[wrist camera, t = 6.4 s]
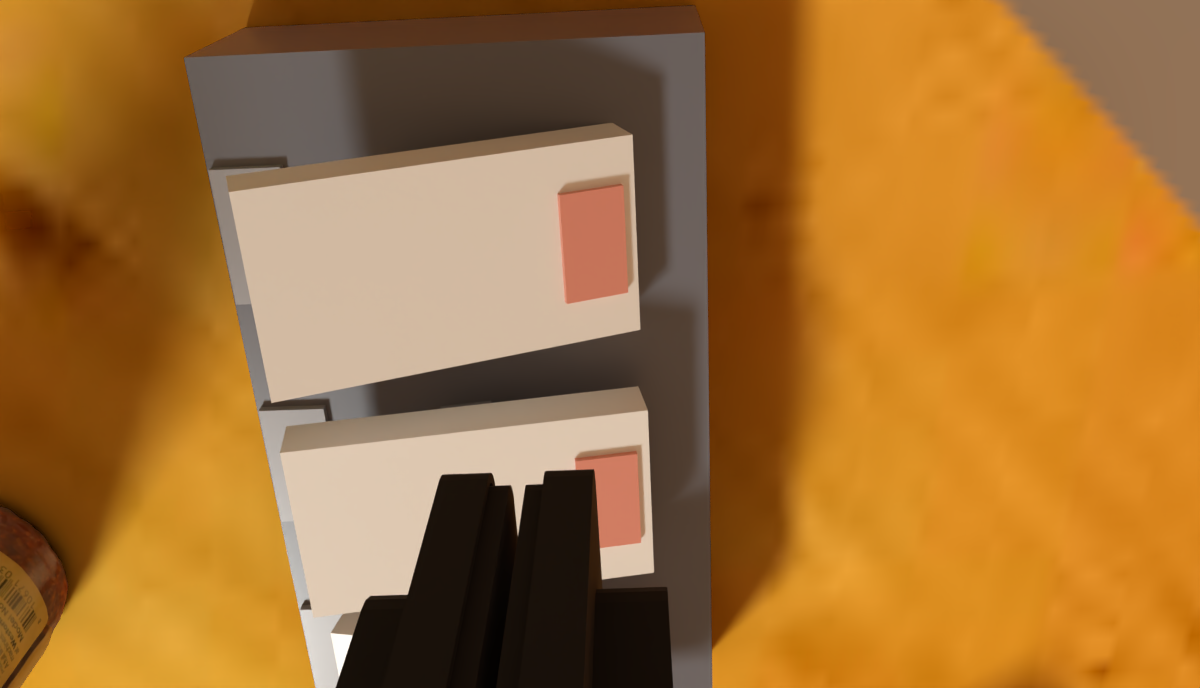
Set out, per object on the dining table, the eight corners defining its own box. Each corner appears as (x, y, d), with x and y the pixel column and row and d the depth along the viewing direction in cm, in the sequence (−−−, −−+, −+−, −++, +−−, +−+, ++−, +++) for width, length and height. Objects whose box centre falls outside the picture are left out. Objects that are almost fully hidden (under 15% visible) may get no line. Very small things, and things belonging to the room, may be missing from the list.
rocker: (223, 164, 22) (229, 194, 20) (597, 114, 24) (635, 136, 22) (263, 361, 24) (272, 405, 22) (607, 297, 26) (642, 331, 24)
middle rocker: (291, 407, 25) (279, 456, 23) (631, 369, 26) (648, 413, 24) (321, 564, 27) (312, 621, 25) (638, 523, 28) (655, 576, 26)
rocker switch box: (244, 27, 27) (179, 59, 23) (695, 5, 26) (705, 34, 22) (362, 665, 35) (329, 766, 31) (704, 658, 35) (713, 760, 31)
